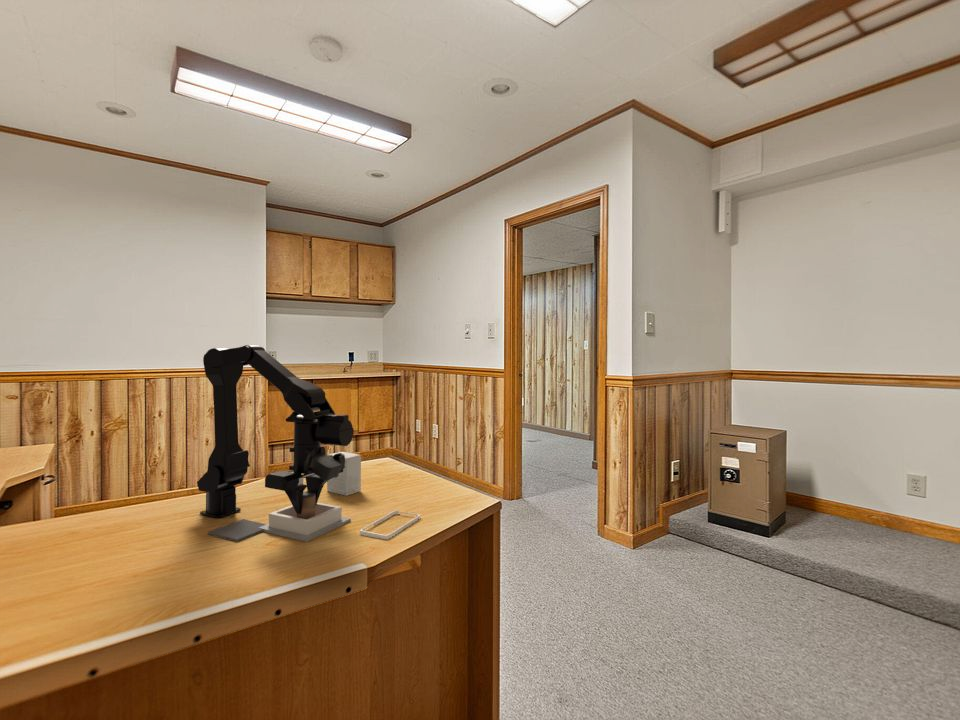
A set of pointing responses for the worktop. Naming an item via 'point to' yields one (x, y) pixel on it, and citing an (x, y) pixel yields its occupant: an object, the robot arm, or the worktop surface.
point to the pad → (238, 530)
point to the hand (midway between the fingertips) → (305, 510)
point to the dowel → (308, 505)
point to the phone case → (391, 532)
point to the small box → (347, 476)
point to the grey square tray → (305, 522)
